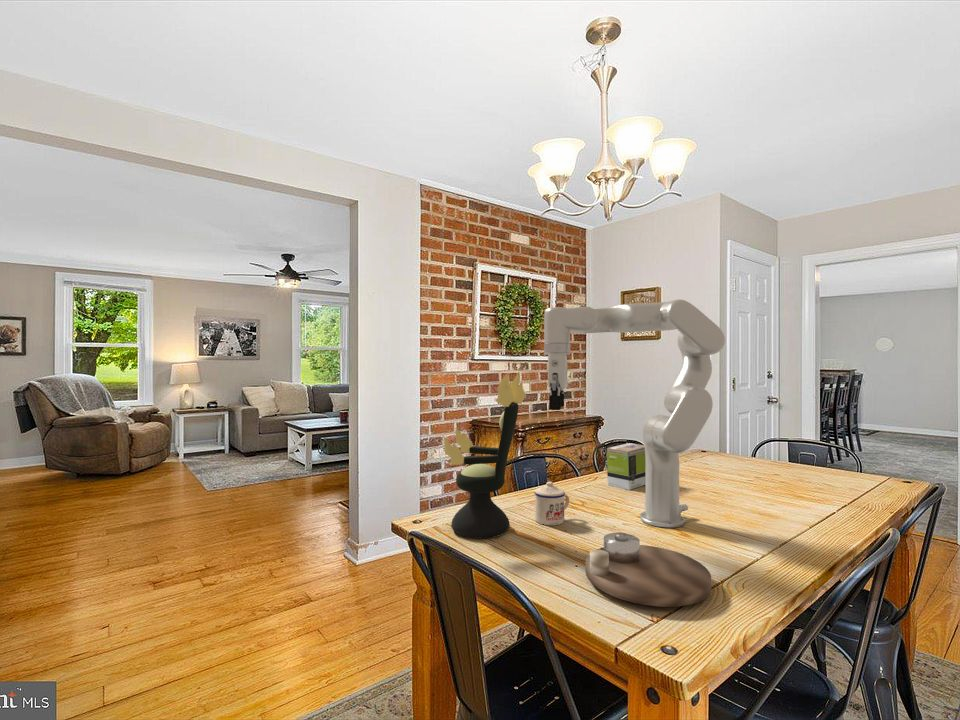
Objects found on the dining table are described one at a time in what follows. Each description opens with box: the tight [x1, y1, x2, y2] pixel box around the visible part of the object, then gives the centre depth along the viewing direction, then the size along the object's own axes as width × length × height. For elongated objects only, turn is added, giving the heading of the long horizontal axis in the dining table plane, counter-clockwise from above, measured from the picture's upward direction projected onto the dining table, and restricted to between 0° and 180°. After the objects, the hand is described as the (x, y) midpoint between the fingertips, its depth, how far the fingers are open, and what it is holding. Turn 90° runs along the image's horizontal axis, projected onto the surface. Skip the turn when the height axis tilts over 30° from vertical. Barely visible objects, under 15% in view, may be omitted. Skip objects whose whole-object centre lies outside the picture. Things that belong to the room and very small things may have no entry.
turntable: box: [585, 544, 712, 608], centre depth 107 cm, size 26×26×6 cm
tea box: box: [606, 442, 646, 491], centre depth 188 cm, size 15×10×15 cm
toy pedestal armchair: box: [443, 372, 527, 539], centre depth 140 cm, size 19×22×45 cm
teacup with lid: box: [534, 481, 570, 526], centre depth 148 cm, size 12×9×12 cm
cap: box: [603, 532, 641, 564], centre depth 113 cm, size 8×8×5 cm
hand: (556, 408), depth 144 cm, fingers open, 9 cm apart
